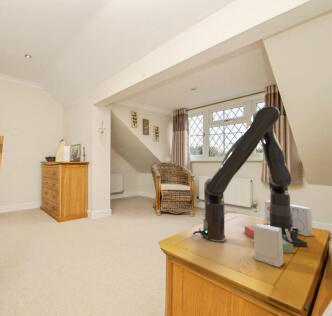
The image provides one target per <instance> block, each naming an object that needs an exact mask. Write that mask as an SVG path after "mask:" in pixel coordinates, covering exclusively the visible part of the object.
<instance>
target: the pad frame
mask: <svg viewBox="0 0 332 316" xmlns="http://www.w3.org/2000/svg"><path fill="white" fill-rule="evenodd" d="M282 239H283V240H286V239H285V238H284V236H283V235H282ZM291 244H293V247H304V248H306V247H308V242H306V241H305V240H303V239H302V238H299V237H297V239H296V241H294V240H293V241H292V242H291Z"/></svg>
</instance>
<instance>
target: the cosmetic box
mask: <svg viewBox="0 0 332 316" xmlns="http://www.w3.org/2000/svg"><path fill="white" fill-rule="evenodd" d="M252 227H253V229H254V238H253V245H254V260H256V261H258V262H262V263H265V264H268V265H270V266H275V267H277V268H280V267H281V266H282V265H283V264H284V252H283V246H282V230H281V228H278V227H272V226H269V225H266V224H261V223H256V224H255V225H253V226H252Z"/></svg>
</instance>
